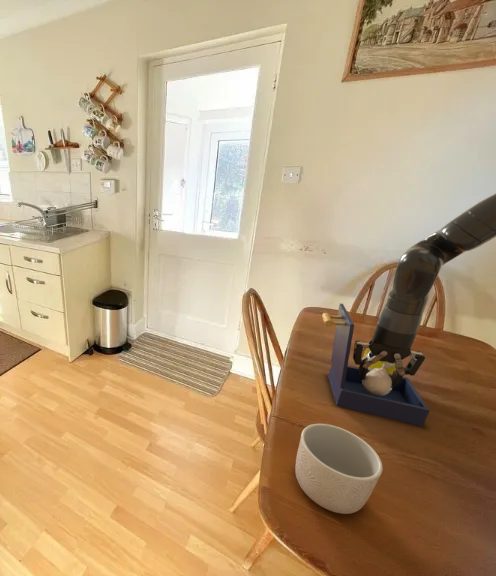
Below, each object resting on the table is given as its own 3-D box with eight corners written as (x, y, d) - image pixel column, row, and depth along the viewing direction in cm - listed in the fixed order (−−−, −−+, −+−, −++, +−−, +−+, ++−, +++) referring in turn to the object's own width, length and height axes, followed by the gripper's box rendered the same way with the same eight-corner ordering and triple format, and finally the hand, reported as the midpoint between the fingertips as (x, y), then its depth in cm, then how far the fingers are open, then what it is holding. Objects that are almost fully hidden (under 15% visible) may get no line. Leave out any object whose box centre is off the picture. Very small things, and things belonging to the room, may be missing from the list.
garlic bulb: (395, 399, 82) (405, 373, 79) (374, 402, 81) (383, 376, 78) (371, 383, 88) (380, 359, 85) (352, 385, 87) (360, 361, 84)
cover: (342, 303, 86) (320, 302, 89) (354, 324, 75) (328, 322, 77) (334, 361, 92) (313, 358, 94) (343, 389, 81) (320, 385, 83)
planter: (287, 454, 69) (297, 416, 65) (354, 474, 65) (369, 434, 61) (294, 507, 59) (306, 465, 55) (374, 534, 54) (395, 490, 50)
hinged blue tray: (401, 393, 88) (408, 377, 86) (422, 427, 76) (429, 410, 74) (327, 377, 95) (332, 362, 93) (336, 406, 83) (341, 390, 81)
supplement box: (370, 368, 98) (381, 338, 94) (391, 380, 93) (403, 348, 89) (357, 372, 96) (367, 341, 93) (377, 384, 91) (389, 352, 87)
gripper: (365, 326, 77) (347, 382, 83) (443, 338, 71) (417, 398, 77) (358, 314, 83) (341, 367, 89) (428, 324, 77) (406, 380, 83)
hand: (376, 381), depth 83 cm, fingers closed on garlic bulb, 6 cm apart
